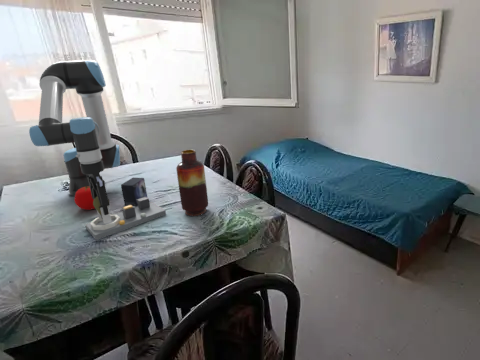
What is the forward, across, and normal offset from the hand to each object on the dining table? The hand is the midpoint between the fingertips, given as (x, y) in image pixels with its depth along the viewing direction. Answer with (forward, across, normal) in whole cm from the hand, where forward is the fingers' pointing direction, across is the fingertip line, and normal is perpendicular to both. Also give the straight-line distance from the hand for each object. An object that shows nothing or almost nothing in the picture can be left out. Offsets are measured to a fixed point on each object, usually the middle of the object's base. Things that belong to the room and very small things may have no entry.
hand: (104, 219), depth 115 cm
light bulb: (+1, 0, 0) cm, 1 cm away
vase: (+4, +14, +32) cm, 35 cm away
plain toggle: (+2, -3, +17) cm, 17 cm away
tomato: (+4, -27, +2) cm, 27 cm away
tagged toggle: (+2, +1, +9) cm, 9 cm away
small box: (+4, -17, +19) cm, 26 cm away
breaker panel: (+4, 0, +8) cm, 9 cm away
